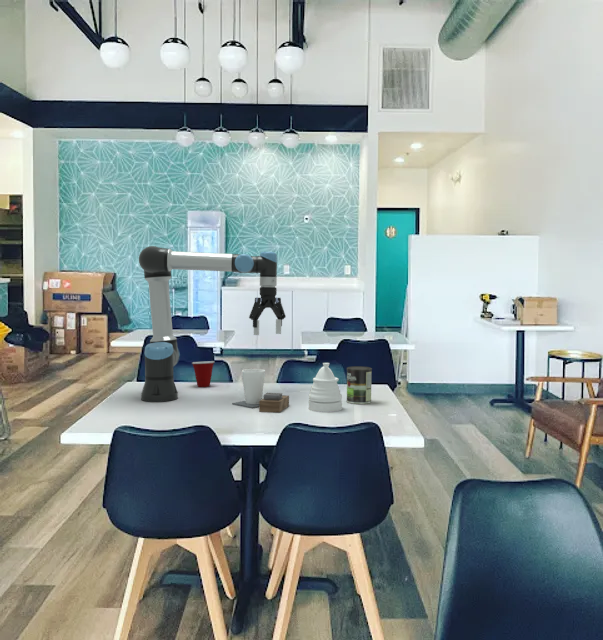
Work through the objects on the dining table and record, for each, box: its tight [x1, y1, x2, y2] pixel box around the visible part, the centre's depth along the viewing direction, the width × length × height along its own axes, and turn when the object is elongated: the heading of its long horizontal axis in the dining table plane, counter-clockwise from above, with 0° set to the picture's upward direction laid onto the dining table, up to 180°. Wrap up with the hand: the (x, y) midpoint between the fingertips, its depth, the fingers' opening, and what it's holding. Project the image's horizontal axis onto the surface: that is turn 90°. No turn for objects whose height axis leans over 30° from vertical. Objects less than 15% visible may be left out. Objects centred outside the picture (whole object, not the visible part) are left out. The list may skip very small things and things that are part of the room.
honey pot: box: [308, 362, 343, 413], centre depth 237 cm, size 13×13×18 cm
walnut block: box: [258, 392, 290, 413], centre depth 238 cm, size 14×8×6 cm, turn 167°
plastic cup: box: [191, 360, 215, 388], centre depth 292 cm, size 11×11×12 cm
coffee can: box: [346, 365, 373, 405], centre depth 251 cm, size 10×10×14 cm
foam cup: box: [241, 368, 266, 404], centre depth 247 cm, size 10×9×13 cm
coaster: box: [232, 400, 259, 409], centre depth 247 cm, size 12×12×1 cm
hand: (267, 334), depth 273 cm, fingers open, 13 cm apart
